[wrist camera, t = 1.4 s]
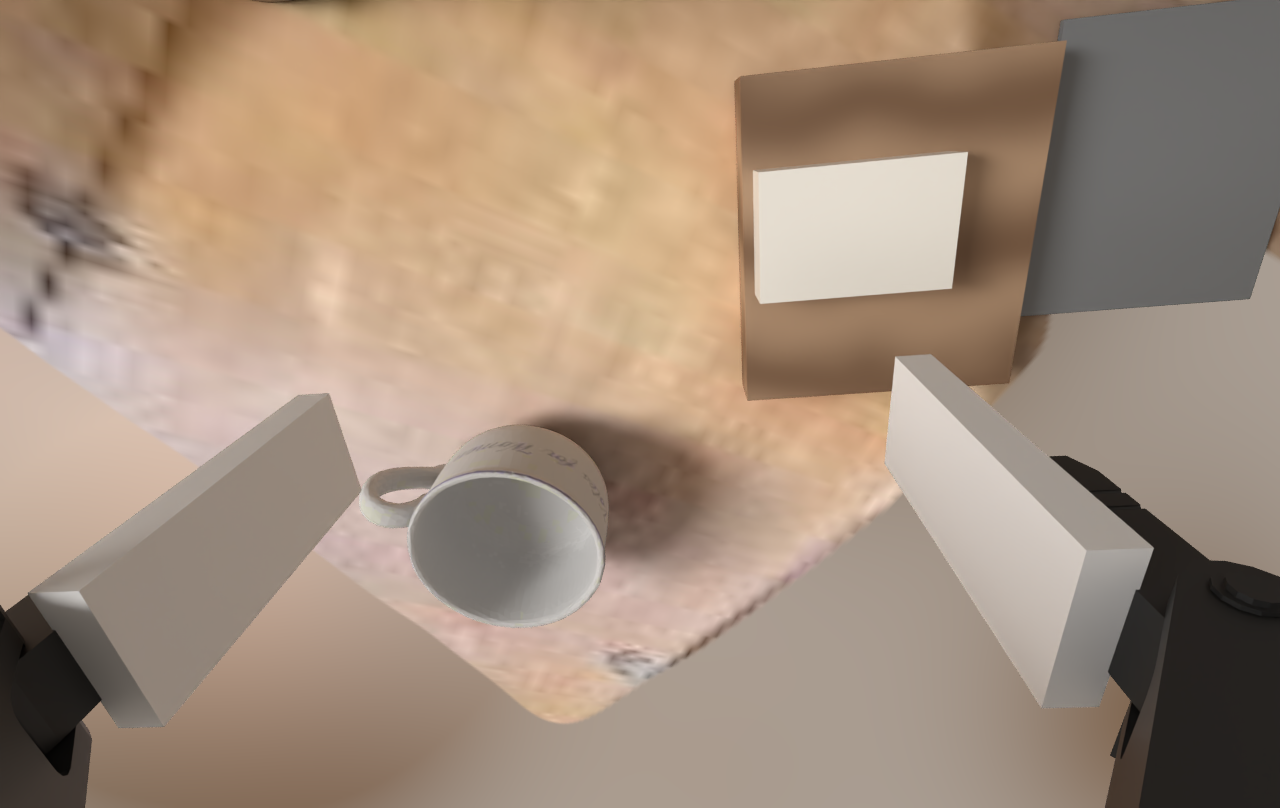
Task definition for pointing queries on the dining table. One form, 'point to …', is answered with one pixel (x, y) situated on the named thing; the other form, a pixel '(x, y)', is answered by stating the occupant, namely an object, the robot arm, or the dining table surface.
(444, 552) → the teacup
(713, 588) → the dining table surface
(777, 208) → the white rectangular block
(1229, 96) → the mat
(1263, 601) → the robot arm
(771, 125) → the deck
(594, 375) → the dining table surface
